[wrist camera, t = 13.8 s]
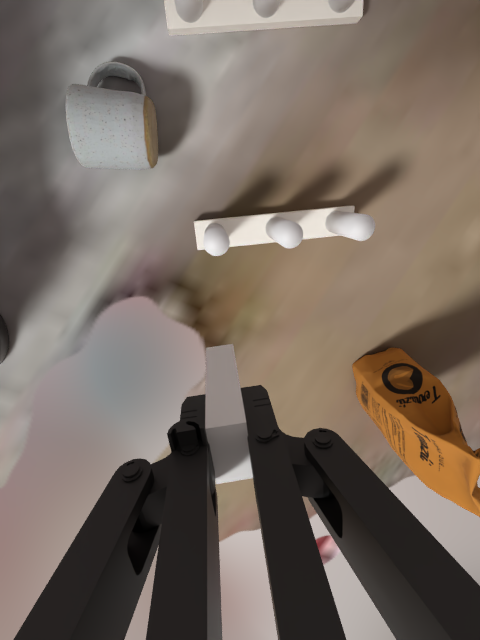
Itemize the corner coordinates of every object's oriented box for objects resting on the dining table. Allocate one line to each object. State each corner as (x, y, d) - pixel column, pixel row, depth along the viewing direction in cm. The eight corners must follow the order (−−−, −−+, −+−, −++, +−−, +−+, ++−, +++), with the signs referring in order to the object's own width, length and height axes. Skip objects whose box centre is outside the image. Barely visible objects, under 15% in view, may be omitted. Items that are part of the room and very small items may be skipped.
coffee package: (403, 337, 51) (532, 431, 31) (413, 397, 56) (530, 513, 36) (344, 358, 52) (433, 463, 31) (359, 416, 56) (444, 541, 36)
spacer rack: (198, 248, 43) (195, 261, 34) (163, -8, 33) (147, -80, 25) (348, 232, 44) (383, 242, 36) (358, -19, 35) (409, -93, 26)
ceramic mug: (162, 173, 40) (152, 166, 32) (94, 170, 39) (68, 163, 32) (157, 69, 36) (144, 36, 29) (81, 64, 35) (48, 29, 28)
